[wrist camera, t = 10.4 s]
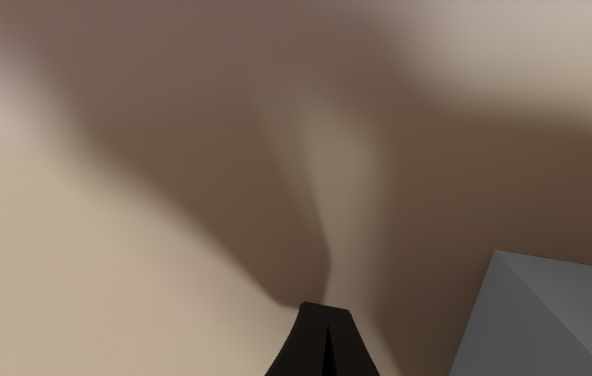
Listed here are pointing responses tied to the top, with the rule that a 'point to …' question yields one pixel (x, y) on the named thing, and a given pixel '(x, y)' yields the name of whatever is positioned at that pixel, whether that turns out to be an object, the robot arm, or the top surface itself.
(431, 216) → the top surface
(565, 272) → the cabinet block
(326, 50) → the top surface
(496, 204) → the top surface
